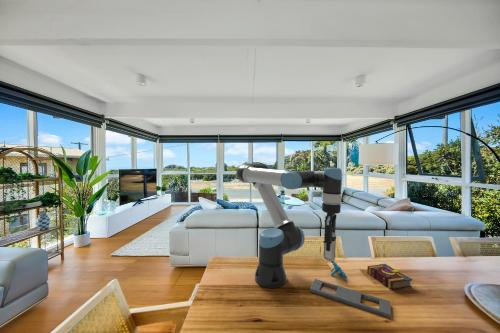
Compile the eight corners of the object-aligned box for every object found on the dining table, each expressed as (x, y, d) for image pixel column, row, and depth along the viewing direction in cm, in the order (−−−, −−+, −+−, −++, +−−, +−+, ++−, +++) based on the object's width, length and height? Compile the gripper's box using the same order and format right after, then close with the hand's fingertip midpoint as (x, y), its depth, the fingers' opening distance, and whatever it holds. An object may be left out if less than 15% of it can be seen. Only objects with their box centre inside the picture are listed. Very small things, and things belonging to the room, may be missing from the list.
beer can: (321, 257, 96) (322, 230, 96) (331, 256, 97) (332, 230, 96) (326, 262, 92) (327, 234, 91) (337, 261, 92) (338, 234, 92)
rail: (309, 291, 94) (309, 288, 94) (315, 281, 102) (315, 278, 102) (390, 318, 79) (391, 314, 79) (389, 304, 86) (390, 301, 86)
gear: (350, 279, 101) (334, 262, 104) (340, 287, 102) (325, 270, 104) (345, 271, 112) (331, 255, 114) (336, 278, 113) (322, 263, 115)
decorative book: (391, 291, 96) (392, 280, 96) (364, 273, 112) (365, 263, 111) (412, 288, 98) (412, 277, 98) (383, 270, 114) (383, 261, 114)
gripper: (337, 207, 84) (334, 266, 85) (343, 200, 99) (341, 250, 100) (317, 205, 88) (315, 260, 89) (326, 198, 103) (324, 246, 104)
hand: (329, 255), depth 94 cm, fingers closed on beer can, 5 cm apart
